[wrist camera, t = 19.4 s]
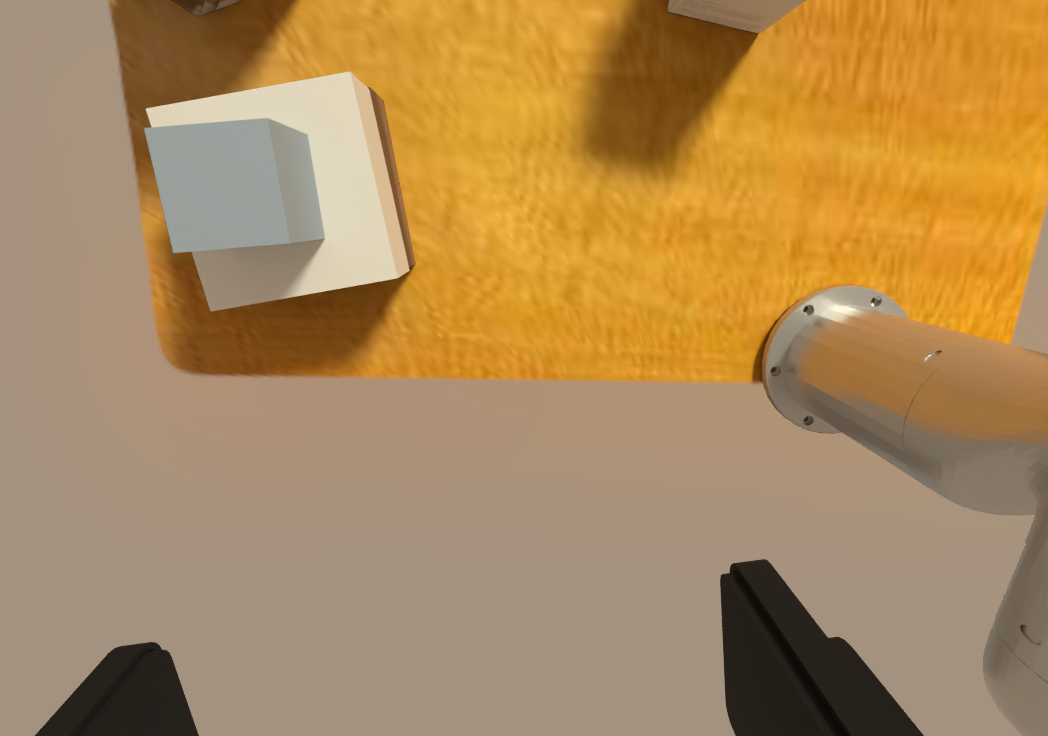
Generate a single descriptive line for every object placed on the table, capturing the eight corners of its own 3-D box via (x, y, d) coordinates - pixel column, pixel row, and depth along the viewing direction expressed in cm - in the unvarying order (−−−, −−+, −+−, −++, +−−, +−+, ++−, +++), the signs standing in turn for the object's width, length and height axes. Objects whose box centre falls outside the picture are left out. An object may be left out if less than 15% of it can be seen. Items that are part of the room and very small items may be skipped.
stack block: (307, 134, 34) (267, 117, 28) (325, 238, 36) (290, 243, 30) (205, 142, 34) (143, 128, 28) (227, 246, 35) (173, 253, 30)
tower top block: (369, 89, 38) (350, 71, 33) (409, 270, 41) (397, 278, 36) (190, 121, 38) (145, 108, 33) (244, 300, 41) (210, 311, 36)
